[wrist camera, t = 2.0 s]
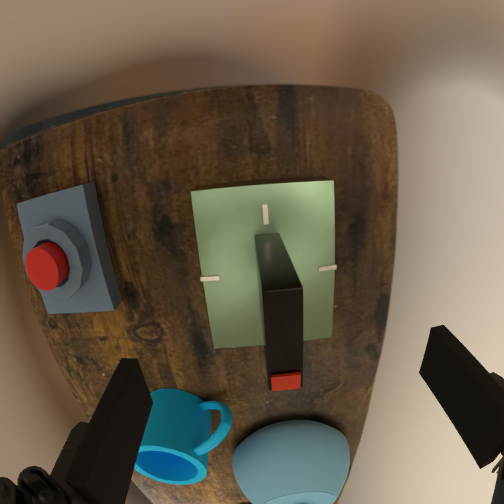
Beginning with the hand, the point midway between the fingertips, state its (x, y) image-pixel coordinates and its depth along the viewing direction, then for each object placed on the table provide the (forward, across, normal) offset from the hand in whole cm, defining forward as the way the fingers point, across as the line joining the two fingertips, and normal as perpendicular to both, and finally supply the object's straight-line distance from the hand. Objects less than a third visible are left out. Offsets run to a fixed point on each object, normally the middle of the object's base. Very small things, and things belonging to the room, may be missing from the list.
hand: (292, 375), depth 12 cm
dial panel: (+14, 0, 0) cm, 14 cm away
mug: (+14, -10, -17) cm, 24 cm away
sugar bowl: (+14, +2, -27) cm, 30 cm away
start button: (+10, -18, +3) cm, 21 cm away
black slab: (+11, 0, 0) cm, 11 cm away
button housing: (+14, -18, +3) cm, 23 cm away
